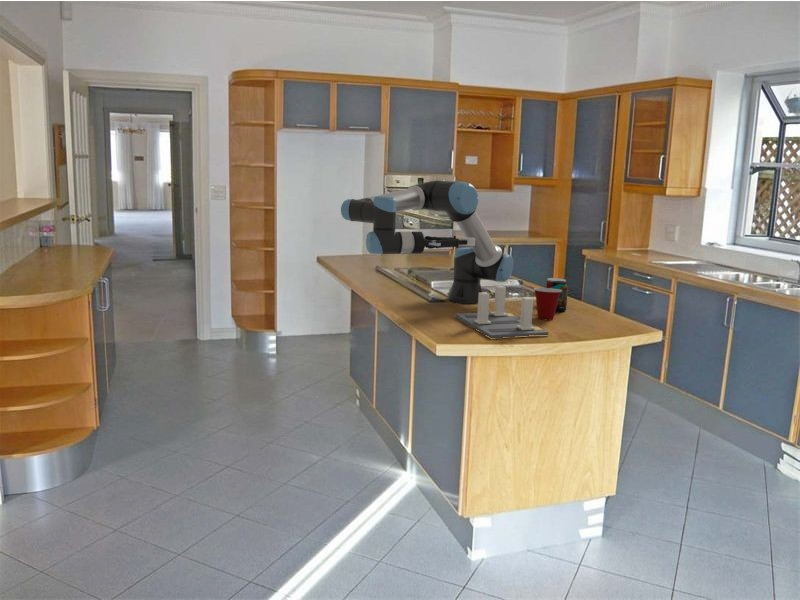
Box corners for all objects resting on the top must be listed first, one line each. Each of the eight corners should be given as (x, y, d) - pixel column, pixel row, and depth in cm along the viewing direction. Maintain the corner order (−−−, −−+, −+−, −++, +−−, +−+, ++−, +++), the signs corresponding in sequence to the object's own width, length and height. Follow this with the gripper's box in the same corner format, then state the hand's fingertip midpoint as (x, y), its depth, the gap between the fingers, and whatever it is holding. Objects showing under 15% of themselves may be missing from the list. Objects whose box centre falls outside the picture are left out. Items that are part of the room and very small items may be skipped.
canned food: (564, 307, 299) (566, 281, 296) (545, 305, 300) (547, 280, 298) (564, 303, 306) (566, 278, 304) (545, 302, 308) (547, 277, 305)
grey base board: (455, 317, 273) (455, 313, 273) (507, 315, 280) (507, 311, 279) (491, 339, 242) (491, 334, 242) (548, 336, 249) (548, 331, 249)
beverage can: (566, 313, 287) (568, 284, 285) (548, 311, 289) (551, 283, 286) (565, 309, 294) (567, 281, 292) (548, 308, 295) (550, 280, 293)
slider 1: (473, 321, 260) (475, 292, 258) (486, 320, 261) (487, 291, 259) (478, 324, 256) (480, 294, 254) (491, 323, 257) (492, 294, 255)
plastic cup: (559, 316, 281) (561, 286, 278) (559, 322, 270) (562, 291, 268) (531, 314, 283) (534, 285, 280) (531, 320, 272) (533, 289, 270)
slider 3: (516, 327, 253) (518, 297, 251) (528, 326, 255) (530, 296, 252) (522, 330, 249) (524, 299, 247) (534, 329, 251) (536, 299, 248)
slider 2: (490, 313, 274) (492, 285, 271) (502, 313, 275) (504, 285, 273) (495, 316, 270) (497, 287, 267) (507, 315, 271) (509, 287, 269)
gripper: (405, 250, 250) (466, 249, 257) (416, 256, 238) (481, 254, 245) (405, 229, 248) (467, 229, 255) (417, 233, 236) (482, 233, 243)
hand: (474, 241), depth 250 cm, fingers closed
